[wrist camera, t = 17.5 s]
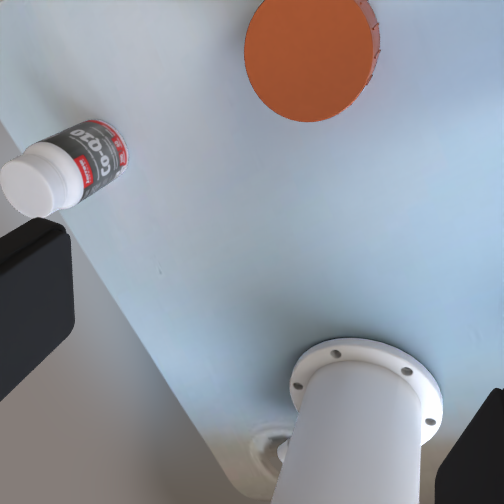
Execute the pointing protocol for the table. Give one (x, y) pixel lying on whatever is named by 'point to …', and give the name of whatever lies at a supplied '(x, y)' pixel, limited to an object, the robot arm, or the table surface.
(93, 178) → the pill bottle
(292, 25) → the thermos lid
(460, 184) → the table surface
